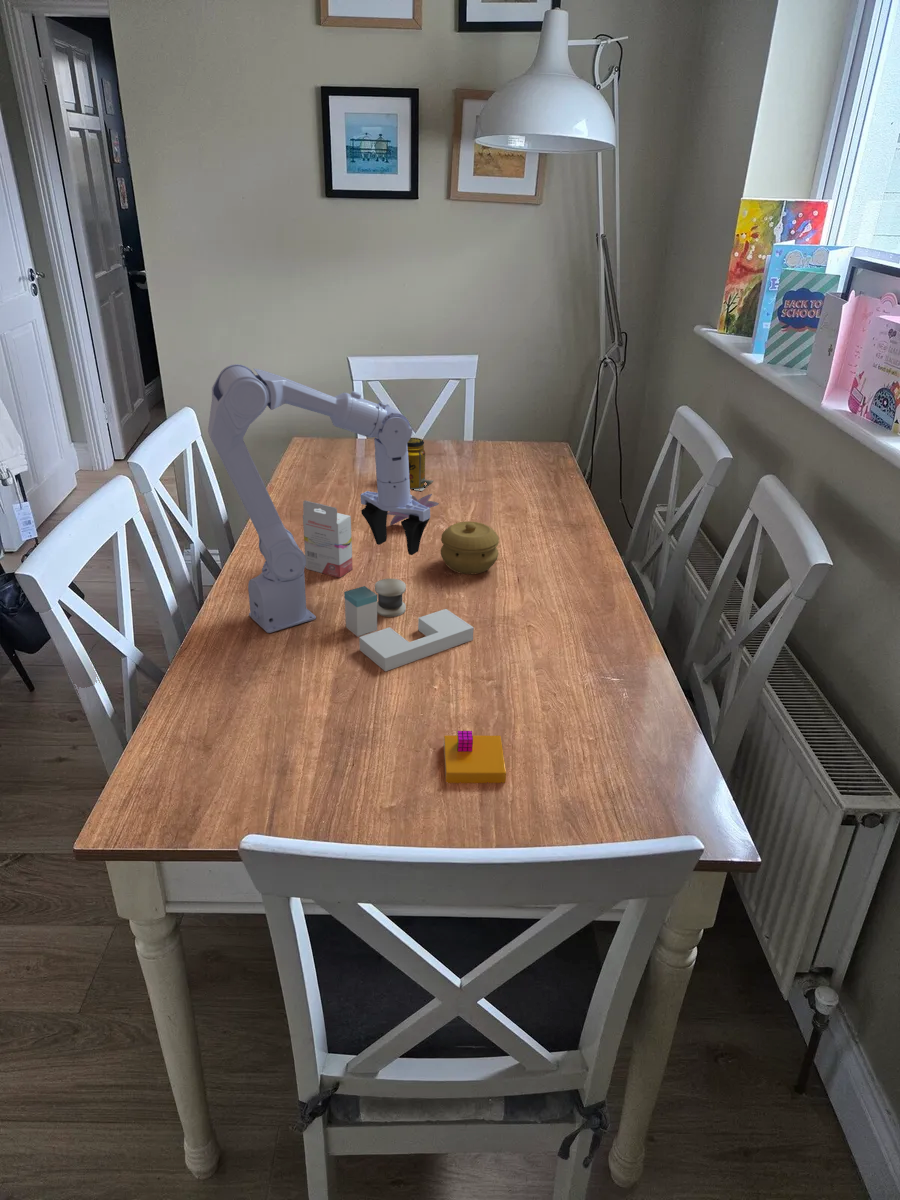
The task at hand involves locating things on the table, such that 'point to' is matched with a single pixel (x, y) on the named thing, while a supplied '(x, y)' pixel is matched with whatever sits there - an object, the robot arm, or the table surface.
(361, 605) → the teal and white block
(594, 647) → the table surface
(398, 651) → the notched board
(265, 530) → the robot arm
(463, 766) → the mustard square tile
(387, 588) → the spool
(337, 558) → the ink cartridge box
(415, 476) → the condiment
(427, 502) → the lily
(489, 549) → the pot
